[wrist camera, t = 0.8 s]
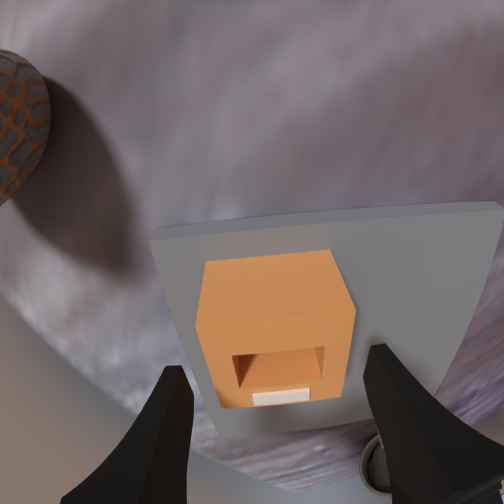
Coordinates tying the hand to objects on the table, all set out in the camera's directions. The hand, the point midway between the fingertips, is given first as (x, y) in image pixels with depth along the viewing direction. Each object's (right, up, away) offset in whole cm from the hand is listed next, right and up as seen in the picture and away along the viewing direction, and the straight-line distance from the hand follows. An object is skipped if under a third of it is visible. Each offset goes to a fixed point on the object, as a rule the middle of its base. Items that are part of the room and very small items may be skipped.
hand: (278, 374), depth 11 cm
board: (+4, -1, +7) cm, 8 cm away
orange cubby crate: (0, +2, +4) cm, 4 cm away
